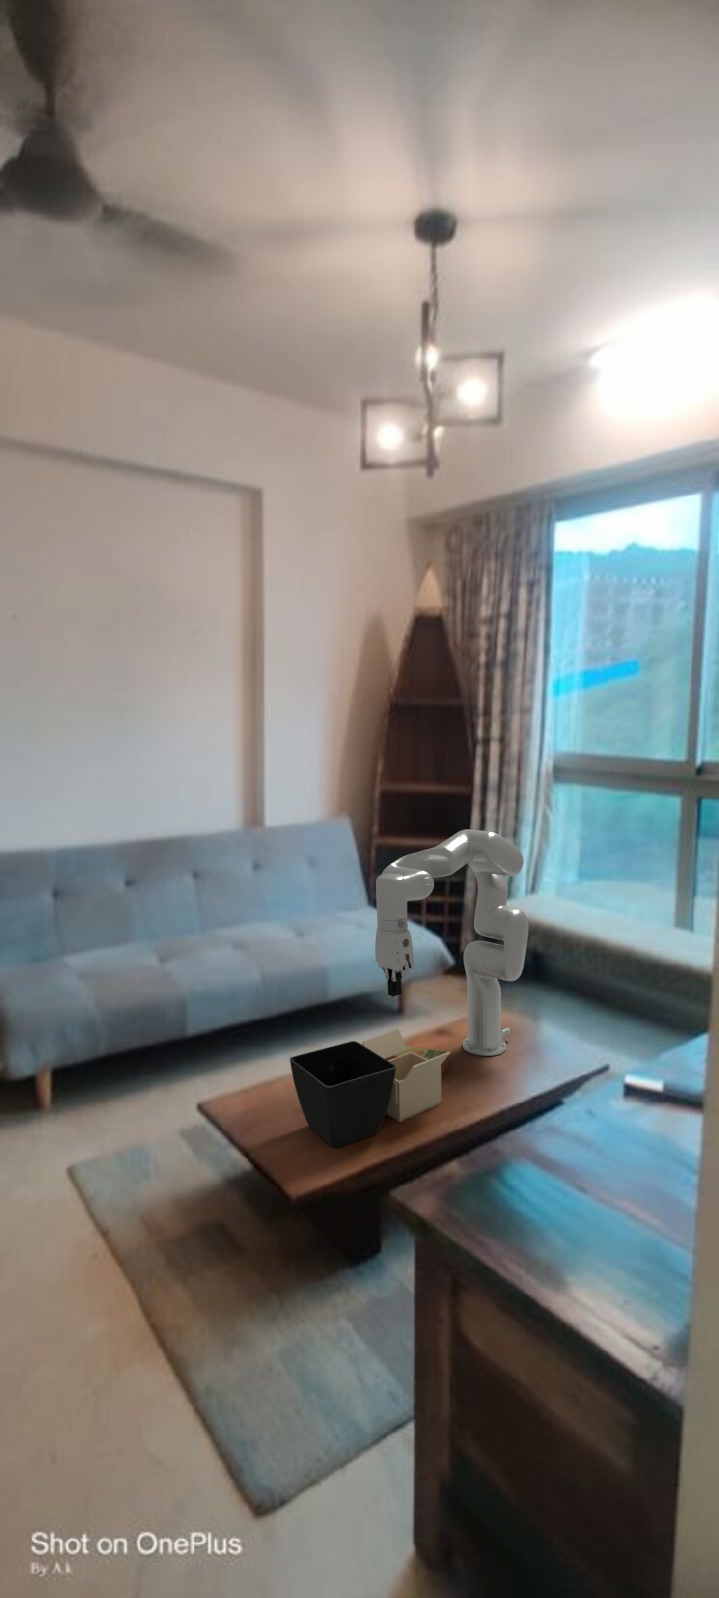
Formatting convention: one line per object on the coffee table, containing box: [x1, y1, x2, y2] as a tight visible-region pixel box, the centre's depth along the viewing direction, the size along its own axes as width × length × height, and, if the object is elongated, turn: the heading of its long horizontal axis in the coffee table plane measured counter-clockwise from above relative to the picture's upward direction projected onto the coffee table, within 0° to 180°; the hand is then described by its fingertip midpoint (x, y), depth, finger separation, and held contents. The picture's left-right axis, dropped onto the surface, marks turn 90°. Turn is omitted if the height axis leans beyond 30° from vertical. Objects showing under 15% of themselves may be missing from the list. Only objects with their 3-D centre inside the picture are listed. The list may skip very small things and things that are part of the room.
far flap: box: [361, 1028, 408, 1059], centre depth 203 cm, size 12×6×1 cm
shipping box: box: [385, 1052, 442, 1123], centre depth 198 cm, size 15×11×10 cm
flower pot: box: [289, 1040, 396, 1148], centre depth 187 cm, size 19×19×17 cm
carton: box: [386, 1045, 450, 1077], centre depth 220 cm, size 8×16×4 cm, turn 69°
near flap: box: [403, 1051, 451, 1081], centre depth 191 cm, size 12×6×1 cm
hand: (394, 994), depth 199 cm, fingers closed
